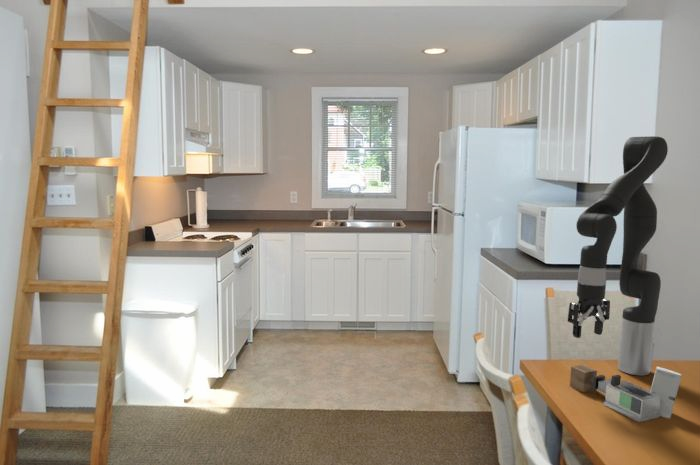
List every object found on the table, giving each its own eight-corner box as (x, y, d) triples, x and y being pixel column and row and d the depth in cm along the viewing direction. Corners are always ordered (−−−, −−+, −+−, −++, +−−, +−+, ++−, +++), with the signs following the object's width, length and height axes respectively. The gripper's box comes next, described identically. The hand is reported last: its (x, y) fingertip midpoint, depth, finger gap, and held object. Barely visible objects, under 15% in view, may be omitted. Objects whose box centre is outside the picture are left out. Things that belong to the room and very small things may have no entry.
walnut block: (582, 383, 165) (583, 364, 165) (595, 389, 161) (597, 370, 160) (569, 385, 163) (571, 366, 162) (583, 392, 159) (584, 372, 158)
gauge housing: (623, 400, 154) (625, 380, 153) (659, 416, 144) (662, 395, 143) (603, 404, 150) (605, 384, 150) (639, 422, 141) (641, 400, 140)
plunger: (601, 386, 158) (602, 368, 157) (629, 399, 149) (631, 380, 149) (587, 389, 156) (588, 370, 155) (615, 403, 147) (617, 383, 146)
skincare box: (645, 411, 146) (655, 368, 146) (645, 408, 150) (655, 365, 149) (671, 420, 143) (681, 375, 142) (671, 416, 147) (681, 372, 146)
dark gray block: (617, 383, 149) (618, 374, 149) (620, 384, 148) (620, 375, 148) (611, 385, 148) (611, 375, 148) (613, 386, 147) (614, 377, 147)
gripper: (598, 277, 164) (594, 329, 166) (563, 280, 158) (559, 334, 160) (620, 282, 157) (615, 336, 159) (584, 286, 151) (579, 342, 153)
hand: (587, 335), depth 160 cm, fingers open, 8 cm apart
